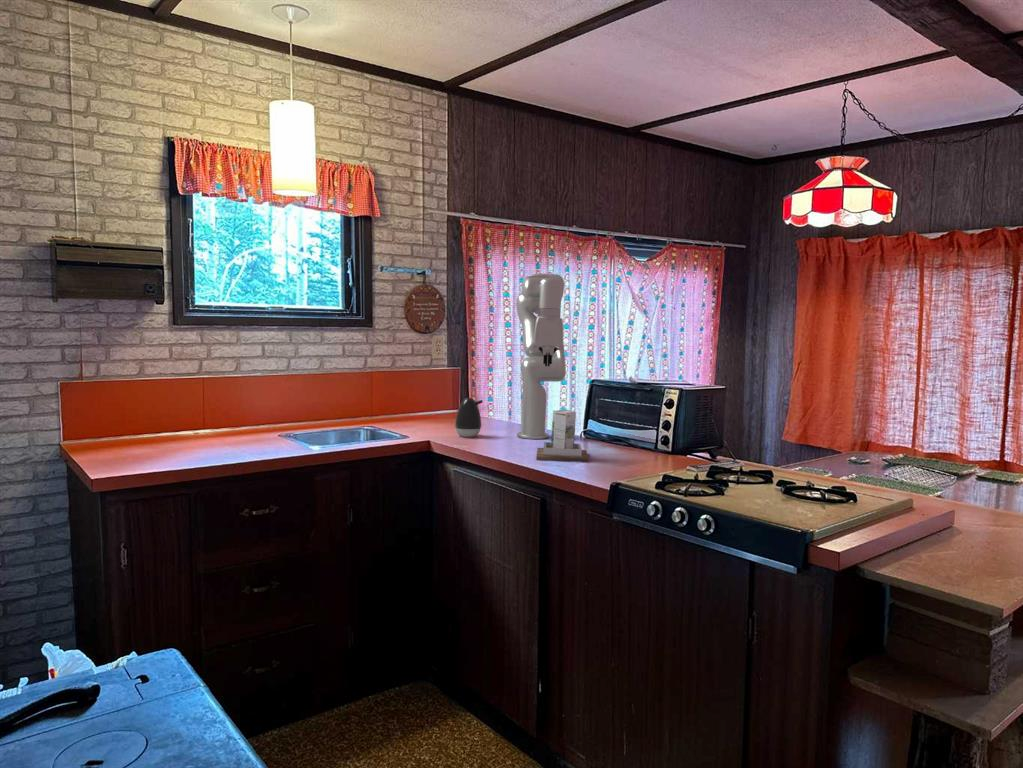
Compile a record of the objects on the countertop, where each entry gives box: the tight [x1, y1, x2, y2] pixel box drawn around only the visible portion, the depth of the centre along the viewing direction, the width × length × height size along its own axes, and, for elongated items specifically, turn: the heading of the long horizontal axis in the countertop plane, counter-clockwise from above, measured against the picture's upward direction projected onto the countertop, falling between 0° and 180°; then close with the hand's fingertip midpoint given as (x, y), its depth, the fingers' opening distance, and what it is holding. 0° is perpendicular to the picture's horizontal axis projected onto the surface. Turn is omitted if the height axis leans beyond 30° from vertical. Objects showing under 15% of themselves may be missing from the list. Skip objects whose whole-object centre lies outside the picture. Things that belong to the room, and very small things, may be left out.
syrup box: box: [550, 409, 577, 449], centre depth 250 cm, size 6×6×14 cm
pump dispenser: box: [454, 397, 484, 438], centre depth 287 cm, size 10×10×15 cm
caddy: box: [535, 441, 589, 463], centre depth 251 cm, size 17×17×4 cm
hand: (547, 366), depth 261 cm, fingers closed
